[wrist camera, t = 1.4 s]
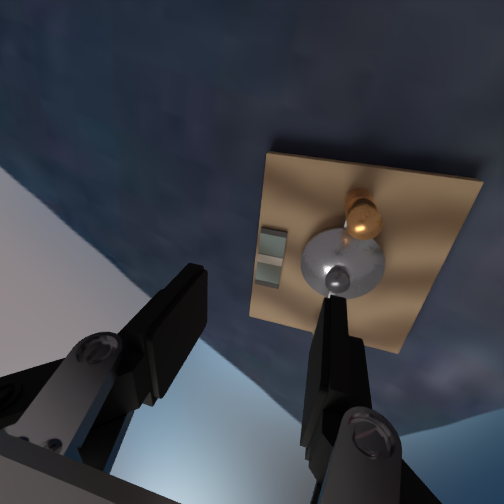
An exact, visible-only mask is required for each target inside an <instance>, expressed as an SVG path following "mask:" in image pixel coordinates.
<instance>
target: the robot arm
mask: <svg viewBox="0 0 504 504" xmlns="http://www.w3.org/2000/svg"><path fill="white" fill-rule="evenodd" d="M207 280H208V273H207V270H204V267H203V266H202V265H197V264H193V263H189V264H187V265H186V266H185V268H184V269H183V270H182V271H181V272H180V273H179V274H178V275H177V276H176V277H175V278H174V279H173V280H172V281H171V282H170V283H169V284H168V285H167V286H166V287H165V288H164V289H162V290H160V291H159V292H158V293H157V294H156V295H155V296H154V297H153V298H152V299H151V300H150V301H149V302H148V303H147V304H146V305H145V306H144V307H143V308H142V309H141V310H140V311H139V312H138V313H137V314H136V315H135V316H134V317H133V318H132V319H131V320H130V321H129V323H128V324H127V325H126V326H125V327H124V328H123V329H122V330H121V331H120V332H119V333H118V334H116V333H112V332H99V333H95V334H92V335H90V336H87V337H85V338H84V339H82V340H81V341H79V342H78V343H77V344H76V345H75V346H74V347H73V349H72V350H71V351H70V353H69V354H68V355H67V357H66V358H63V359H60V360H56V361H53V362H49V363H46V364H43V365H40V366H36V367H33V368H29V369H26V370H23V371H20V372H17V373H13V374H10V375H7V376H3V377H0V504H181V503H178V502H176V501H173V500H171V499H168V498H166V497H164V496H161V495H159V494H156V493H154V492H151V491H149V490H146V489H144V488H142V487H139V486H137V485H134V484H132V483H129V482H127V481H124V480H122V479H120V478H117V477H115V476H112V475H110V472H111V469H112V466H113V464H114V462H115V459H116V457H117V454H118V452H119V449H120V446H121V444H122V441H123V439H124V437H125V434H126V431H127V429H128V426H129V424H130V421H131V419H132V416H133V414H134V411H135V410H136V409H138V408H140V406H141V405H142V403H143V404H146V405H149V406H153V405H154V404H155V402H156V400H157V399H158V398H160V399H161V398H163V397H164V395H165V394H166V392H167V390H168V388H169V387H170V385H171V384H172V382H173V380H174V378H175V377H176V375H177V374H178V372H179V370H180V369H181V367H182V365H183V363H184V362H185V360H186V359H187V357H188V355H189V354H190V352H191V350H192V349H193V347H194V345H195V343H196V342H197V340H198V338H199V337H200V335H201V333H202V332H203V330H204V328H205V326H206V323H207ZM300 446H303V447H306V453H305V454H306V455H305V459H306V460H309V469H310V470H311V472H312V473H313V475H314V477H315V478H316V483H315V487H314V490H313V493H312V497H311V500H310V504H442V503H441V502H440V501H439V500H438V499H437V498H436V497H435V495H434V494H433V493H432V492H431V491H430V490H429V489H428V487H427V486H426V485H425V484H424V483H423V482H422V481H421V480H420V478H419V477H418V476H417V475H416V474H415V473H414V472H413V470H412V469H411V468H410V467H409V466H408V465H407V464H406V463H405V461H404V460H403V459H402V446H401V441H400V438H399V436H398V433H397V432H396V430H395V429H394V427H393V426H392V424H391V423H390V422H389V421H388V420H387V419H386V418H385V417H384V416H383V415H381V414H379V413H378V412H376V411H375V410H372V404H371V396H370V388H369V380H368V372H367V364H366V356H365V348H364V342H363V339H362V338H358V337H354V336H350V335H349V332H348V316H347V300H346V298H344V297H340V296H335V295H330V298H327V297H324V300H323V303H322V307H321V311H320V314H319V318H318V322H317V325H316V329H315V333H314V337H313V340H312V344H311V348H310V353H309V361H308V371H307V380H306V390H305V400H304V409H303V419H302V429H301V438H300Z"/></svg>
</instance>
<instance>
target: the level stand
mask: <svg viewBox="0 0 504 504" xmlns="http://www.w3.org/2000/svg"><path fill="white" fill-rule="evenodd" d="M483 183H484V182H482V181H480V180H478V179H476V178H470V177H462V176H454V175H447V174H439V173H432V172H424V171H417V170H409V169H401V168H394V167H386V166H379V165H371V164H363V163H356V162H348V161H341V160H333V159H326V158H318V157H310V156H303V155H295V154H288V153H280V152H272V151H269V152H268V153H267V155H266V165H265V174H264V183H263V193H262V202H261V211H260V221H259V230H258V239H257V249H256V258H255V267H254V277H253V286H252V296H251V305H250V314H249V316H251V317H255V318H259V319H263V320H267V321H271V322H275V323H279V324H283V325H287V326H290V327H294V328H298V329H302V330H306V331H310V332H313V330H314V329H315V328H316V325H317V322H318V318H319V314H320V311H321V307H322V303H323V300H324V297H326V296H323V295H321V294H319V293H318V292H316V291H315V290H313V289H312V288H311V287H310V286H309V285H308V284H307V282H306V281H305V279H304V277H303V275H302V272H301V256H302V252H303V249H304V247H305V245H306V243H307V242H308V241H309V239H310V238H311V237H312V236H314V235H315V234H316V233H318V232H319V231H321V230H323V229H326V228H328V227H332V226H339V225H344V222H345V218H346V213H345V204H344V200H345V197H346V195H347V194H348V193H349V192H350V191H351V190H353V189H356V188H363V189H366V190H368V191H369V192H370V193H371V195H372V197H373V199H374V202H375V204H376V206H377V208H378V211H379V213H380V215H381V217H382V220H383V227H382V230H381V231H380V233H379V234H378V235H377V236H376V237H374V238H375V239H376V241H377V242H378V243H379V245H380V247H381V249H382V252H383V255H384V258H385V271H384V275H383V277H382V279H381V281H380V282H379V284H378V285H377V286H376V287H375V288H374V289H373V290H371V291H370V292H368V293H367V294H365V295H363V296H360V297H357V298H353V299H346V300H347V316H348V332H349V335H350V336H354V337H358V338H362V339H363V342H364V345H365V346H369V347H373V348H377V349H381V350H385V351H389V352H393V353H397V354H398V353H399V351H400V349H401V347H402V345H403V343H404V341H405V339H406V337H407V335H408V333H409V331H410V329H411V327H412V325H413V323H414V321H415V319H416V317H417V315H418V313H419V311H420V309H421V307H422V305H423V303H424V301H425V299H426V297H427V295H428V293H429V291H430V289H431V287H432V285H433V283H434V281H435V279H436V277H437V275H438V273H439V271H440V269H441V267H442V265H443V263H444V261H445V259H446V257H447V255H448V253H449V251H450V249H451V247H452V245H453V243H454V241H455V239H456V237H457V235H458V233H459V231H460V229H461V227H462V225H463V223H464V221H465V219H466V217H467V215H468V213H469V211H470V209H471V207H472V205H473V203H474V201H475V199H476V197H477V195H478V193H479V191H480V189H481V187H482V185H483Z"/></svg>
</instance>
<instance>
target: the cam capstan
mask: <svg viewBox="0 0 504 504" xmlns="http://www.w3.org/2000/svg"><path fill="white" fill-rule="evenodd" d="M344 204H345V213H346V218H345V222H344V225H339V226H332V227H328V228H326V229H323V230H321V231H319V232H318V233H316V234H315V235H314V236H312V237H311V238H310V239H309V241H308V242H307V243H306V245H305V247H304V249H303V252H302V256H301V272H302V275H303V277H304V279H305V281H306V282H307V284H308V285H309V286H310V287H311V288H312V289H313V290H315V291H316V292H318V293H319V294H321V295H323V296H326V297H327V298H330V295H335V296H340V297H344V298H346V299H353V298H357V297H360V296H363V295H365V294H367V293H368V292H370V291H371V290H373V289H374V288H375V287H376V286H377V285H378V284H379V282H380V281H381V279H382V277H383V275H384V271H385V258H384V255H383V252H382V249H381V247H380V245H379V243H378V242H377V241H376V239H375V238H374V237H376V236H377V235H378V234H379V233H380V231H381V230H382V227H383V220H382V217H381V215H380V213H379V211H378V208H377V206H376V204H375V202H374V199H373V197H372V195H371V193H370V192H369V191H368V190H366V189H363V188H356V189H353V190H351V191H350V192H349V193H348V194H347V195H346V197H345V200H344ZM315 329H316V328H315ZM315 329H314V330H313V332H312V339H313V337H314V333H315Z"/></svg>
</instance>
